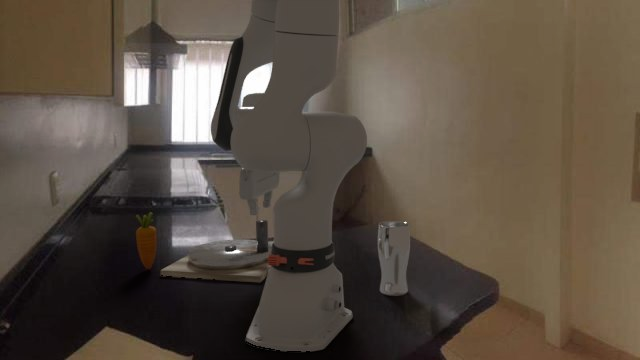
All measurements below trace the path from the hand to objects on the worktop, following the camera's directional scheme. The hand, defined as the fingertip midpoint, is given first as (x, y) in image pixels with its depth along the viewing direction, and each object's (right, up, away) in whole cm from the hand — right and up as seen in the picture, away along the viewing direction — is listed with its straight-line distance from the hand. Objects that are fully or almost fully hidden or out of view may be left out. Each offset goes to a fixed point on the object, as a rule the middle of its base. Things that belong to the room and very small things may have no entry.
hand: (261, 210), depth 122 cm
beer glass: (+32, -17, -19) cm, 41 cm away
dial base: (-8, -14, +3) cm, 17 cm away
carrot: (-29, -15, -1) cm, 33 cm away
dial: (-8, -13, +3) cm, 15 cm away
